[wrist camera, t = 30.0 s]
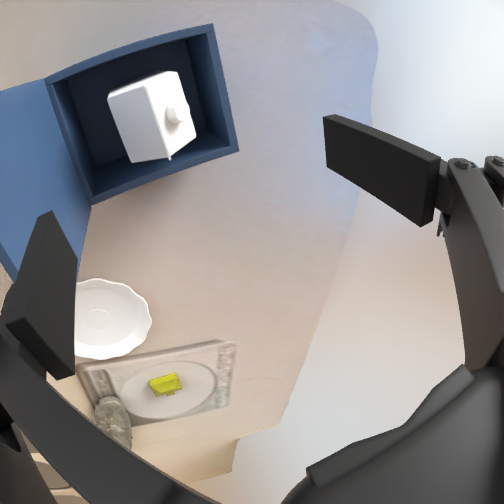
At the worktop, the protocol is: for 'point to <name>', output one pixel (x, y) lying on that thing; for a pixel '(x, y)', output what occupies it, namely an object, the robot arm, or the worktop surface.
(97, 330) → the plate
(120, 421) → the elongated rock
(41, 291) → the robot arm
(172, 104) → the milk carton
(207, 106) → the cool box
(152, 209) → the worktop surface
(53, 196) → the cool box lid
